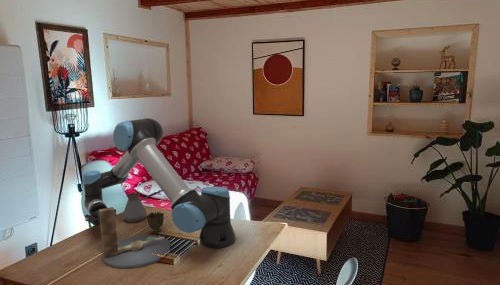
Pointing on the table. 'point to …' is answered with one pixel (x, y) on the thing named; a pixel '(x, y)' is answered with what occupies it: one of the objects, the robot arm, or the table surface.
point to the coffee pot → (135, 207)
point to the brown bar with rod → (115, 235)
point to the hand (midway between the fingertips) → (108, 227)
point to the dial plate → (138, 252)
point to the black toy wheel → (155, 221)
